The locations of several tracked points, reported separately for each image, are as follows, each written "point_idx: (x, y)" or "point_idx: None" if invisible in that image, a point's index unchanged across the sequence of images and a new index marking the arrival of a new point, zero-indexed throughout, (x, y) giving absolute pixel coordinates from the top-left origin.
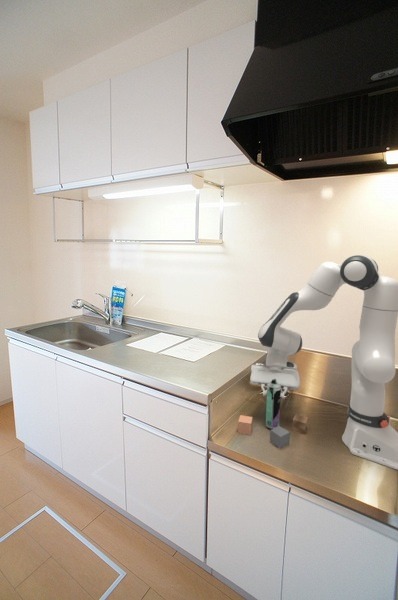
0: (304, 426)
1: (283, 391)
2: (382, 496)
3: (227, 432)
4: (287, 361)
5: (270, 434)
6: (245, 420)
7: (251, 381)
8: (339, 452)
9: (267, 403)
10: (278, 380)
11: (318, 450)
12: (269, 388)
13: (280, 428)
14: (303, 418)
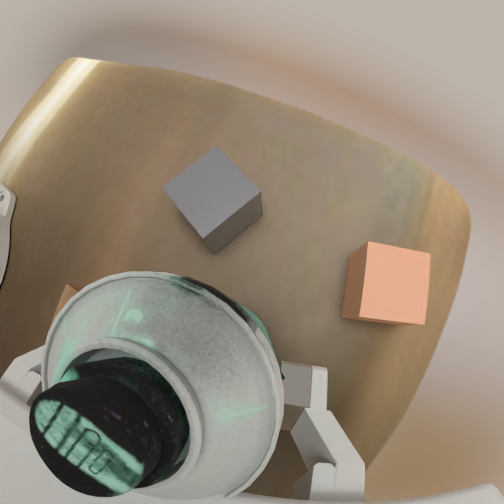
0: (79, 287)
1: None
2: (52, 82)
3: (441, 261)
4: None
5: (260, 200)
6: (397, 270)
7: (488, 484)
8: (38, 198)
9: (267, 334)
10: (46, 492)
11: (87, 193)
12: (247, 321)
13: (201, 213)
14: None
